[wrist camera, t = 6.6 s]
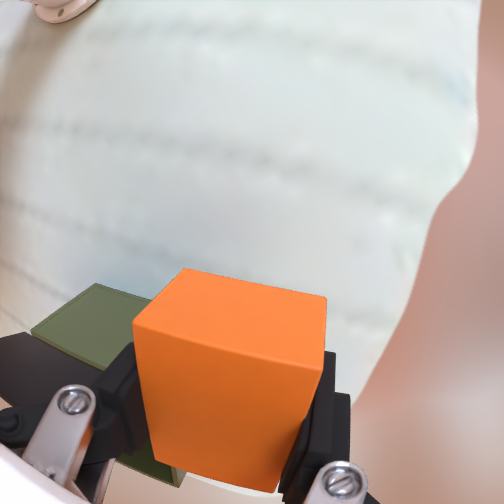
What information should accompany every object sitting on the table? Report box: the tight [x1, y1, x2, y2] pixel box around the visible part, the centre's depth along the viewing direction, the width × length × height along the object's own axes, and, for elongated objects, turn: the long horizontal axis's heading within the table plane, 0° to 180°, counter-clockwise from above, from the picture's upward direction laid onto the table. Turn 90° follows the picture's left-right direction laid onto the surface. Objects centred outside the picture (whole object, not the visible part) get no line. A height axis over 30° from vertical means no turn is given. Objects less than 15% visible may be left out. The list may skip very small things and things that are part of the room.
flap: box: [0, 332, 103, 407], centre depth 15 cm, size 7×13×1 cm
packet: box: [132, 268, 327, 493], centre depth 9 cm, size 6×4×3 cm
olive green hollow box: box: [30, 283, 187, 488], centre depth 26 cm, size 15×13×10 cm
